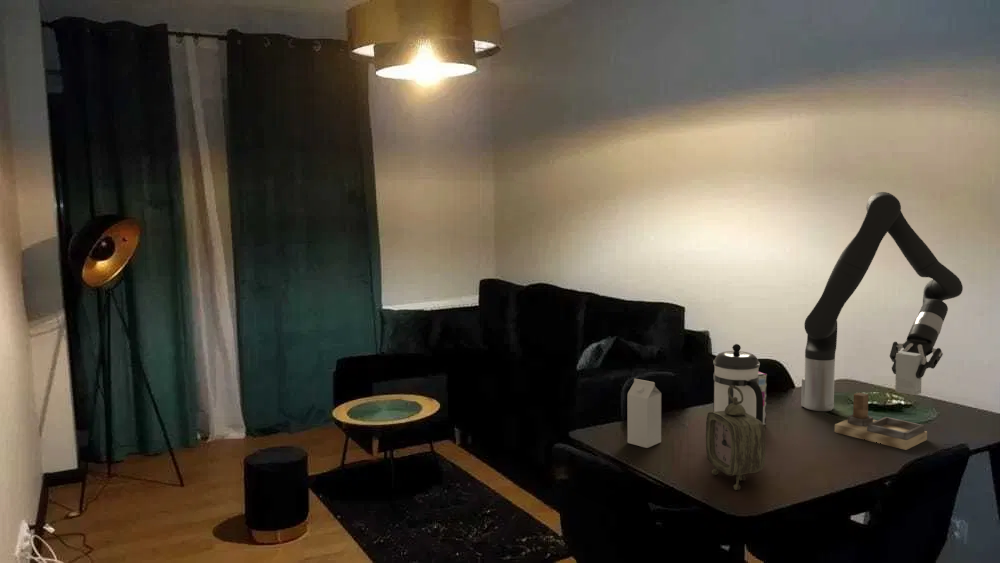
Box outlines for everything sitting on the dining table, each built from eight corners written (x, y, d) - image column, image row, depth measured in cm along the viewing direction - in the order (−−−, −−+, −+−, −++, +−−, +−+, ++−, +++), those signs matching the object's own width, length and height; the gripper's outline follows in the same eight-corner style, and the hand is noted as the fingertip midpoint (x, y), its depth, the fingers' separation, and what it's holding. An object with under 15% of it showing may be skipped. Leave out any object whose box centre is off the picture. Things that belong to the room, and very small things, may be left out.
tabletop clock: (705, 473, 199) (706, 380, 196) (736, 469, 201) (737, 378, 198) (734, 494, 185) (735, 395, 182) (767, 490, 187) (769, 392, 184)
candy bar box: (766, 425, 238) (768, 374, 236) (753, 426, 236) (754, 375, 234) (746, 415, 248) (746, 366, 246) (732, 416, 247) (733, 367, 245)
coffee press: (699, 449, 217) (700, 346, 214) (718, 433, 230) (719, 337, 227) (761, 460, 207) (763, 353, 204) (777, 443, 220) (779, 342, 217)
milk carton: (641, 437, 229) (641, 376, 226) (661, 442, 224) (661, 380, 221) (627, 443, 224) (627, 380, 221) (647, 448, 219) (647, 384, 216)
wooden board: (834, 432, 229) (835, 395, 228) (856, 423, 237) (857, 387, 236) (906, 450, 213) (907, 410, 211) (926, 439, 221) (928, 401, 219)
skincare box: (921, 393, 226) (923, 353, 224) (915, 396, 223) (917, 356, 221) (900, 389, 230) (902, 350, 229) (893, 392, 227) (895, 352, 226)
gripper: (897, 319, 234) (877, 363, 228) (947, 326, 223) (928, 372, 217) (904, 334, 238) (885, 377, 232) (954, 341, 227) (935, 386, 221)
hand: (906, 374), depth 225 cm, fingers closed on skincare box, 6 cm apart
